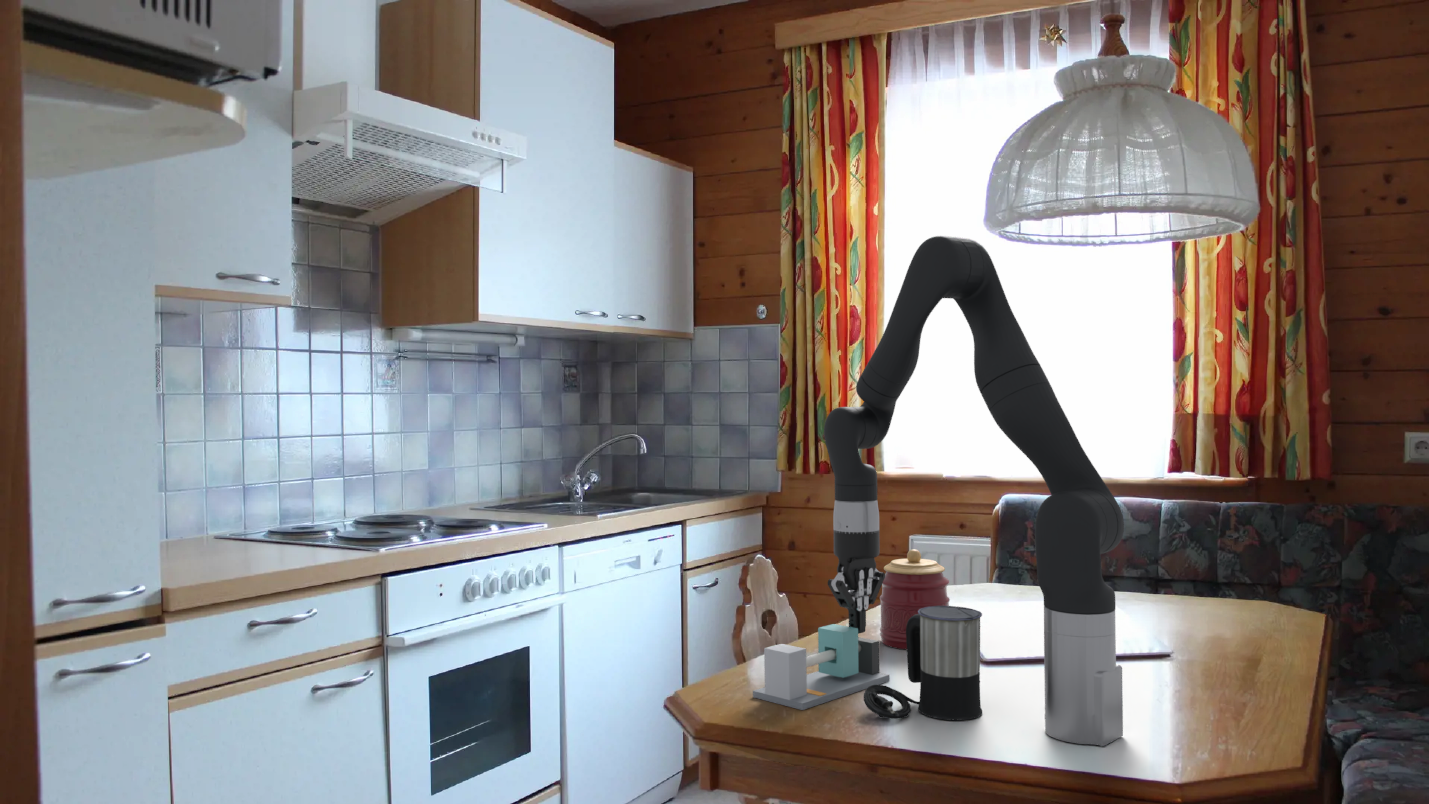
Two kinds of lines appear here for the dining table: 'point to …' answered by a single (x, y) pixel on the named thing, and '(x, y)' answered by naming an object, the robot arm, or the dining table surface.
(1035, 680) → the dining table surface
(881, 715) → the milk frother
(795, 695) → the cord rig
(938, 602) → the canister
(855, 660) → the sleeve
